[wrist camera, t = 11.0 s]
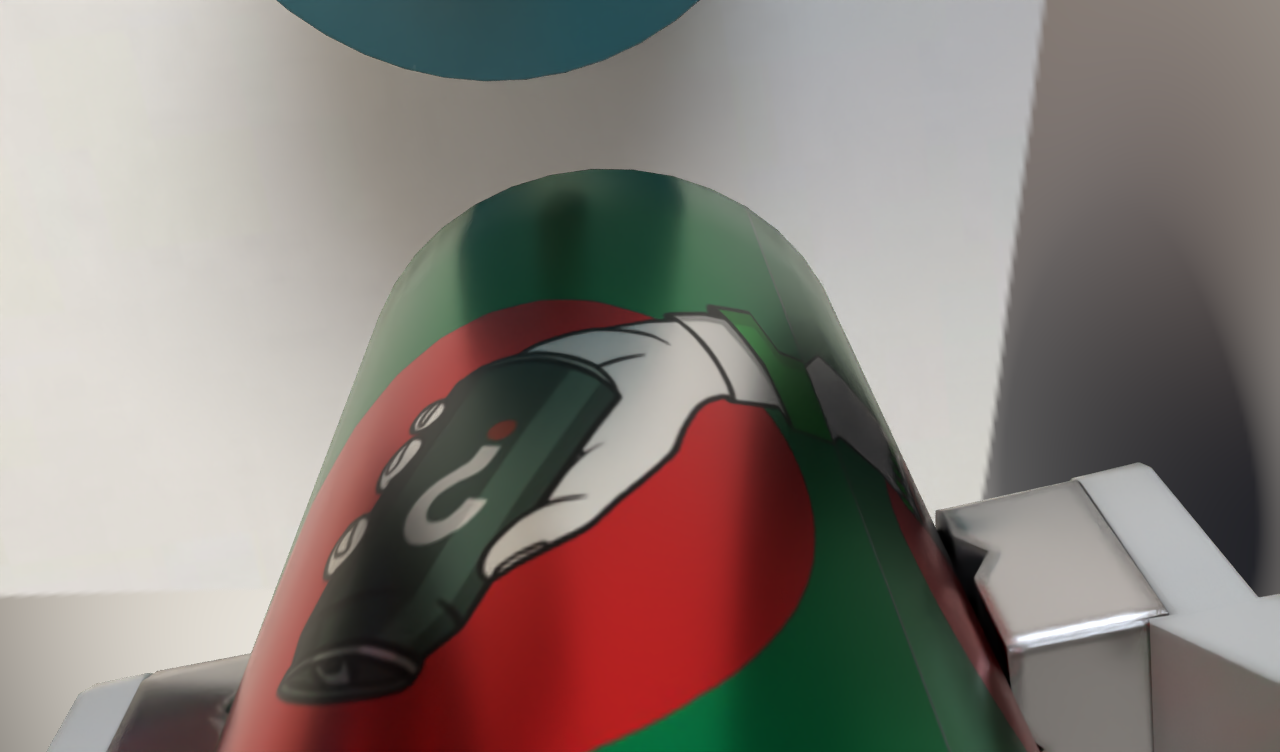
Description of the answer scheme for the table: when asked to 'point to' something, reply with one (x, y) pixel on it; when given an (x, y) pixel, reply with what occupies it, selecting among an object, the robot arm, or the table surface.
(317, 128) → the table surface
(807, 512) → the soda can
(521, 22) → the pan lid
